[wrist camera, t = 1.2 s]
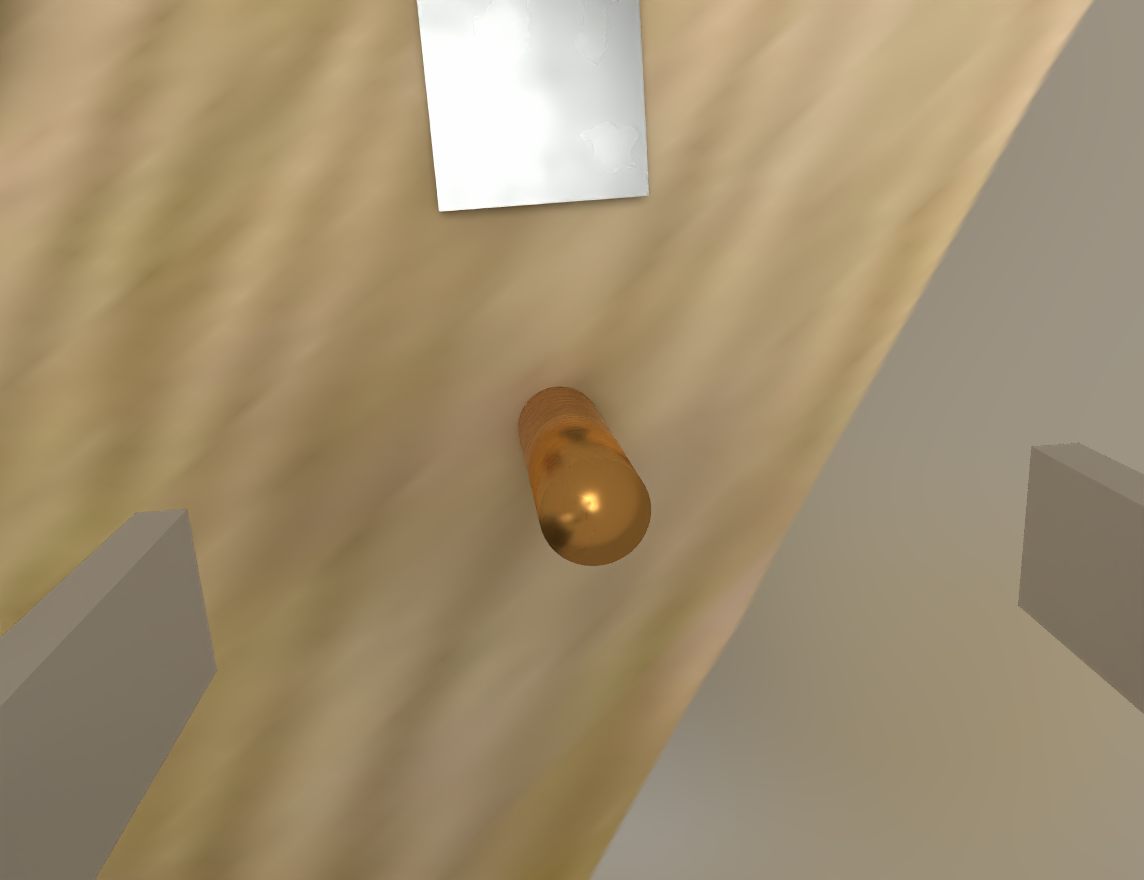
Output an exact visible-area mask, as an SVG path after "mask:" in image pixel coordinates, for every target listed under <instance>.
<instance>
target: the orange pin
mask: <svg viewBox="0 0 1144 880" xmlns="http://www.w3.org/2000/svg"><path fill="white" fill-rule="evenodd" d="M518 428H519V436H520V441H521V445H522V449H523V454H524V458H525V462H526V466H527V471H528V475H529V479H530V483H531V488H532V492H533V496H534V501H535V505H536V509H537V513H538V518H539V522H540V526H541V529H542V533H543V535H544V537H545V539H546V541H547V542H548V544H549V545H550V546H551V547H552V549H553V550H554V551H555V552H557V553H558V554H559V555H560V556H562V557H563V558H565V559H567V560H569V561H571V562H574V563H577V564H581V565H588V566H598V565H605V564H609V563H612V562H615V561H617V560H619V559H621V558H623V557H624V556H626V555H627V554H629V553H630V552H631V551H632V550H633V549H634V548H635V547H636V546H637V545H638V544H639V543H640V541H641V540H642V538H643V537H644V535H645V533H646V531H647V528H648V525H649V522H650V516H651V504H650V498H649V494H648V492H647V489H646V487H645V485H644V484H643V482H642V480H641V479H640V477H639V476H638V474H637V472H636V471H635V469H634V468H633V466H632V465H631V463H630V461H629V460H628V458H627V457H626V455H625V454H624V452H623V450H622V449H621V447H620V446H619V444H618V443H617V441H616V439H615V438H614V436H613V435H612V433H611V432H610V430H609V428H608V427H607V425H606V424H605V422H604V421H603V419H602V418H601V416H600V414H599V413H598V411H597V410H596V408H595V407H594V405H593V403H592V402H591V401H590V400H589V399H588V398H587V397H586V396H585V395H584V394H582V393H581V392H579V391H577V390H574V389H572V388H567V387H553V388H548V389H545V390H543V391H541V392H539V393H537V394H536V395H534V396H533V397H532V398H531V399H530V400H529V401H528V402H527V404H526V405H525V406H524V408H523V410H522V412H521V415H520V419H519V425H518Z"/></svg>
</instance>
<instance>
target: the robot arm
mask: <svg viewBox="0 0 1144 880" xmlns="http://www.w3.org/2000/svg"><path fill="white" fill-rule="evenodd" d="M1018 606H1020V607H1021V608H1022V609H1023V610H1024V611H1025V612H1027V613H1028V614H1029V615H1030V616H1031V617H1032V618H1034V619H1035V620H1036V621H1037V622H1038V623H1039V624H1040V625H1042V626H1043V627H1044V628H1045V629H1046V630H1047V631H1048V632H1050V633H1051V634H1052V635H1053V636H1055V638H1057V639H1058V640H1059V641H1060V642H1061V643H1062V644H1064V645H1065V646H1066V647H1067V648H1068V649H1069V650H1071V651H1072V652H1073V653H1074V654H1075V655H1076V656H1077V657H1079V658H1080V659H1081V660H1082V661H1083V662H1084V663H1086V664H1087V665H1088V666H1089V667H1090V668H1091V669H1092V670H1094V671H1095V672H1096V673H1097V674H1098V675H1100V676H1101V677H1102V678H1103V679H1104V680H1105V681H1106V682H1108V683H1109V684H1110V685H1111V686H1112V687H1113V688H1114V689H1116V690H1117V691H1118V692H1119V693H1120V694H1121V695H1123V696H1124V697H1125V698H1126V699H1127V700H1128V701H1129V702H1131V703H1132V704H1133V705H1135V707H1137V708H1138V709H1139V710H1140V711H1141V712H1142V713H1143V714H1144V474H1142V473H1140V472H1138V471H1136V470H1133V469H1131V468H1129V467H1127V466H1125V465H1123V464H1121V463H1119V462H1117V461H1115V460H1113V459H1111V458H1109V457H1107V456H1105V455H1102V454H1100V453H1098V452H1096V451H1094V450H1092V449H1090V448H1088V447H1086V446H1084V445H1082V444H1080V443H1071V444H1058V445H1044V446H1032V447H1031V459H1030V472H1029V483H1028V494H1027V507H1026V518H1025V530H1024V543H1023V554H1022V566H1021V578H1020V590H1019V601H1018ZM216 671H217V669H216V663H215V658H214V652H213V647H212V642H211V636H210V631H209V625H208V620H207V614H206V609H205V603H204V598H203V592H202V587H201V582H200V576H199V571H198V565H197V560H196V554H195V549H194V543H193V538H192V533H191V527H190V522H189V516H188V511H187V509H181V510H167V511H154V512H140V513H135V514H134V515H133V516H132V517H131V518H130V519H129V520H128V521H126V522H125V523H124V524H123V525H122V526H121V527H120V528H119V529H118V530H117V531H116V532H114V533H113V534H112V535H111V536H110V537H109V538H108V539H107V540H106V541H105V542H104V543H103V544H101V545H100V546H99V547H98V548H97V549H96V550H95V551H94V552H93V553H92V554H91V555H90V556H88V557H87V558H86V559H85V560H84V561H83V562H82V563H81V564H80V565H79V566H78V567H77V568H75V569H74V570H73V571H72V572H71V573H70V574H69V575H68V576H67V577H66V578H65V579H63V580H62V581H61V582H60V583H59V584H58V585H57V586H56V587H55V588H54V589H53V590H52V591H50V592H49V593H48V594H47V595H46V596H45V597H44V598H43V599H42V600H41V601H40V602H39V603H37V604H36V605H35V606H34V607H33V608H32V609H31V610H30V611H29V612H28V613H27V614H26V615H24V616H23V617H22V618H21V619H20V620H19V621H18V622H17V623H16V624H15V625H14V626H12V627H11V628H10V629H9V630H8V631H7V632H6V633H5V634H4V635H3V636H2V637H1V638H0V880H95V878H96V877H97V875H98V873H99V872H100V870H101V868H102V866H103V865H104V863H105V861H106V860H107V858H108V856H109V855H110V853H111V851H112V849H113V848H114V846H115V844H116V843H117V841H118V839H119V837H120V836H121V834H122V832H123V831H124V829H125V827H126V825H127V824H128V822H129V820H130V819H131V817H132V815H133V813H134V812H135V810H136V808H137V807H138V805H139V803H140V801H141V800H142V798H143V796H144V795H145V793H146V791H147V789H148V788H149V786H150V784H151V783H152V781H153V779H154V777H155V776H156V774H157V772H158V771H159V769H160V767H161V765H162V764H163V762H164V760H165V759H166V757H167V755H168V753H169V752H170V750H171V748H172V747H173V745H174V743H175V742H176V740H177V738H178V736H179V735H180V733H181V731H182V730H183V728H184V726H185V724H186V723H187V721H188V719H189V718H190V716H191V714H192V712H193V711H194V709H195V707H196V706H197V704H198V702H199V700H200V699H201V697H202V695H203V694H204V692H205V690H206V688H207V687H208V685H209V683H210V682H211V680H212V678H213V676H214V675H215V673H216Z"/></svg>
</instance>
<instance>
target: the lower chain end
mask: <svg viewBox="0 0 1144 880" xmlns="http://www.w3.org/2000/svg"><path fill="white" fill-rule="evenodd" d="M417 5H418V15H419V24H420V34H421V43H422V53H423V62H424V72H425V81H426V91H427V100H428V110H429V119H430V129H431V138H432V148H433V157H434V167H435V176H436V186H437V195H438V205H439V211H453V210H466V209H479V208H492V207H505V206H519V205H532V204H545V203H558V202H571V201H584V200H598V199H611V198H624V197H637V196H649V184H648V164H647V144H646V124H645V105H644V85H643V65H642V45H641V26H640V6H639V0H417Z"/></svg>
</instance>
